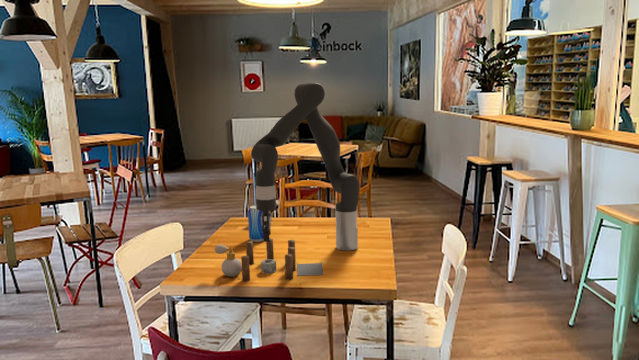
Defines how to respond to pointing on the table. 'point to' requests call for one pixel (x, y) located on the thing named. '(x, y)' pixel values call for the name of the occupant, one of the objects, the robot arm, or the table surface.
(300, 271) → the felt mat
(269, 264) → the nut
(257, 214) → the beer can
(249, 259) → the post field
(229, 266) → the perfume bottle
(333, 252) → the table surface
